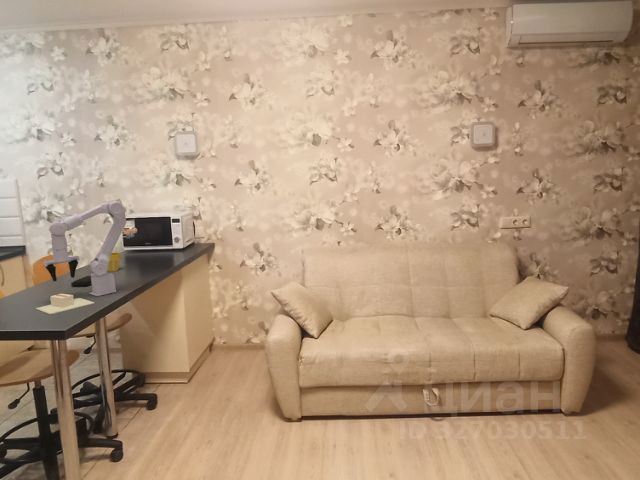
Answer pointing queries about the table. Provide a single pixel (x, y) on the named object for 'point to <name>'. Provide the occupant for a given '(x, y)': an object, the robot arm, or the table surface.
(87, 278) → the carrying case or bag
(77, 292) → the table surface
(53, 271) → the robot arm
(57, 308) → the mat
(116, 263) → the plant pot
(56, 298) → the card deck box
